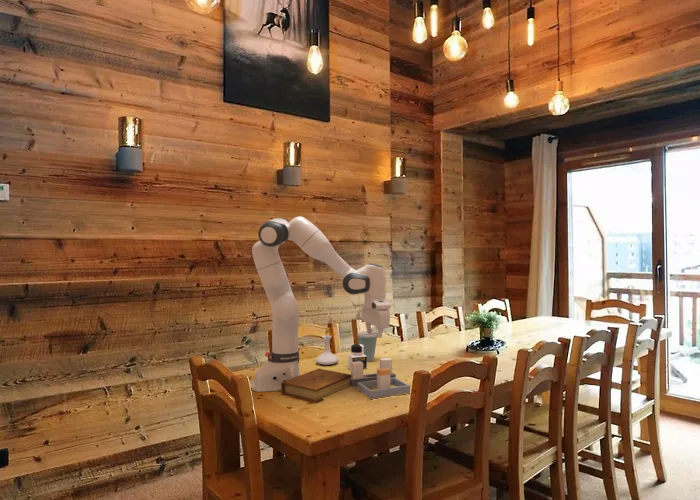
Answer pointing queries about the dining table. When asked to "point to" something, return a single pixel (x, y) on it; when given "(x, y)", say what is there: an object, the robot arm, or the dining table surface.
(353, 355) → the medicine bottle
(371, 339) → the disposable coffee cup
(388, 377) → the marked fuse
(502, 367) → the dining table surface
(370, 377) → the fuse block
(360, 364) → the block
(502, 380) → the dining table surface
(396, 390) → the tray
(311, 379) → the diary
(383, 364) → the block
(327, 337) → the flower in vase
